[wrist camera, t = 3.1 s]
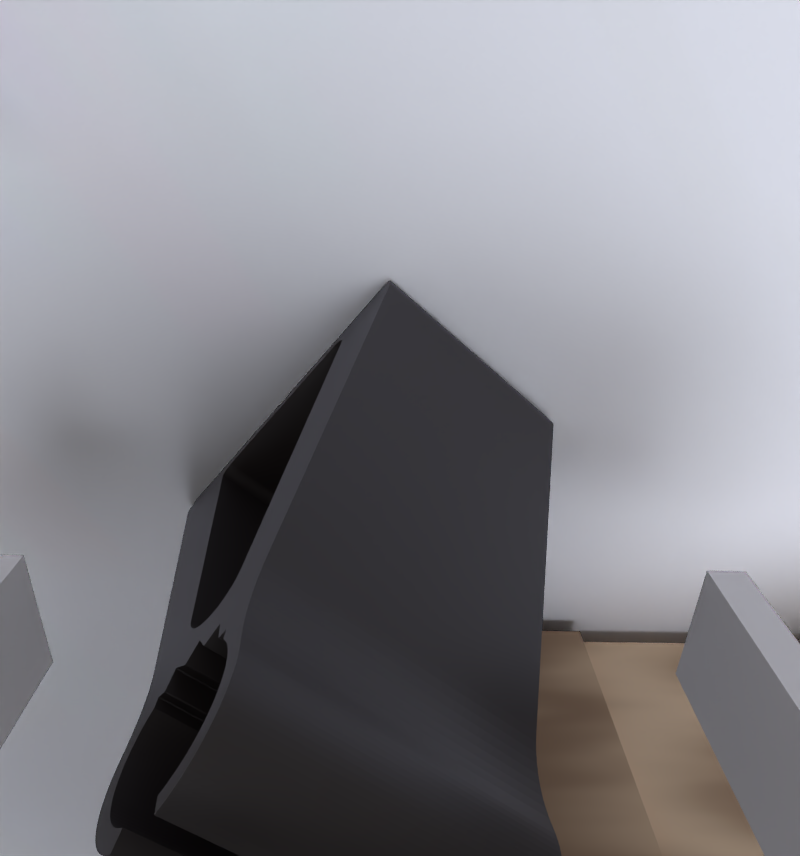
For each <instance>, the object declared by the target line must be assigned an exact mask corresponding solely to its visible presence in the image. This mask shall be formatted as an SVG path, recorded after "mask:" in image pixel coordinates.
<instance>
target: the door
mask: <svg viewBox="0 0 800 856" xmlns="http://www.w3.org/2000/svg"><path fill="white" fill-rule="evenodd" d="M684 644H685V643H632V642H584V641H583V639H582V636H581V633H580V631H542V640H541V658H540V676H539V695H538V713H537V731H536V756H537V768H538V776H539V782H540V787H541V792H542V796H543V800H544V803H545V807H546V810H547V813H548V816H549V819H550V821H551V824H552V826H553V829H554V831H555V833H556V836H557V839H558V842H559V846H560V850H561V855H562V856H764V854H763V851H762V849H761V847H760V845H759V843H758V841H757V839H756V837H755V835H754V833H753V831H752V829H751V827H750V825H749V823H748V821H747V819H746V817H745V815H744V813H743V811H742V809H741V807H740V804H739V802H738V800H737V798H736V796H735V794H734V792H733V790H732V788H731V786H730V784H729V782H728V780H727V778H726V776H725V774H724V772H723V770H722V768H721V766H720V764H719V762H718V759H717V757H716V755H715V753H714V751H713V749H712V747H711V745H710V743H709V741H708V739H707V737H706V735H705V733H704V731H703V729H702V727H701V725H700V723H699V721H698V719H697V717H696V715H695V712H694V710H693V708H692V706H691V704H690V702H689V700H688V698H687V696H686V694H685V692H684V690H683V688H682V686H681V684H680V682H679V680H678V678H677V676H676V670H677V667H678V664H679V661H680V657H681V654H682V651H683V648H684Z"/></svg>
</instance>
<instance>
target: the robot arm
mask: <svg viewBox="0 0 800 856" xmlns="http://www.w3.org/2000/svg"><path fill="white" fill-rule="evenodd" d="M52 663H53V660H52V656H51V653H50V649H49V646H48V642H47V638H46V635H45V631H44V628H43V624H42V620H41V617H40V613H39V609H38V606H37V602H36V599H35V595H34V591H33V588H32V584H31V581H30V577H29V573H28V570H27V566H26V562H25V559H24V555H0V748H1V747H2V745H3V743H4V742H5V740H6V738H7V737H8V735H9V734H10V732H11V730H12V729H13V727H14V725H15V724H16V722H17V720H18V719H19V717H20V715H21V714H22V712H23V710H24V709H25V707H26V705H27V704H28V702H29V701H30V699H31V697H32V696H33V694H34V692H35V691H36V689H37V687H38V686H39V684H40V682H41V681H42V679H43V677H44V676H45V674H46V672H47V671H48V669H49V668H50V666H51V664H52ZM676 676H677V678H678V680H679V682H680V684H681V686H682V688H683V690H684V692H685V694H686V696H687V698H688V700H689V702H690V704H691V706H692V708H693V710H694V712H695V715H696V717H697V719H698V721H699V723H700V725H701V727H702V729H703V731H704V733H705V735H706V737H707V739H708V741H709V743H710V745H711V747H712V749H713V751H714V753H715V755H716V757H717V759H718V762H719V764H720V766H721V768H722V770H723V772H724V774H725V776H726V778H727V780H728V782H729V784H730V786H731V788H732V790H733V792H734V794H735V796H736V798H737V800H738V802H739V804H740V807H741V809H742V811H743V813H744V815H745V817H746V819H747V821H748V823H749V825H750V827H751V829H752V831H753V833H754V835H755V837H756V839H757V841H758V843H759V845H760V847H761V849H762V851H763V854H764V856H800V644H799V642H798V641H797V640H796V638H795V637H794V635H793V634H792V633H791V631H790V630H789V629H788V627H787V626H786V625H785V623H784V622H783V621H782V619H781V618H780V617H779V615H778V614H777V613H776V611H775V610H774V609H773V607H772V606H771V605H770V603H769V602H768V601H767V599H766V598H765V596H764V595H763V594H762V592H761V591H760V590H759V588H758V587H757V586H756V584H755V583H754V582H753V580H752V579H751V578H750V576H749V575H748V574H747V572H739V571H707V573H706V576H705V579H704V583H703V586H702V589H701V592H700V596H699V599H698V602H697V605H696V609H695V612H694V615H693V618H692V622H691V625H690V628H689V631H688V635H687V638H686V641H685V644H684V648H683V651H682V654H681V657H680V661H679V664H678V667H677V670H676Z"/></svg>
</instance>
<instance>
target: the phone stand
mask: <svg viewBox="0 0 800 856" xmlns="http://www.w3.org/2000/svg"><path fill="white" fill-rule="evenodd" d="M552 440H553V423H552V422H551V421H550V420H549V419H548V418H547V417H546V416H544V415H543V414H542V413H541V412H540V411H539V410H538V409H536V408H535V407H534V406H533V405H532V404H531V403H530V402H528V401H527V400H526V399H525V398H524V397H523V396H522V395H520V394H519V393H518V392H517V391H516V390H515V389H514V388H512V387H511V386H510V385H509V384H508V383H507V382H505V381H504V380H503V379H502V378H501V377H500V376H499V375H497V374H496V373H495V372H494V371H493V370H492V369H491V368H489V367H488V366H487V365H486V364H485V363H484V362H483V361H481V360H480V359H479V358H478V357H477V356H476V355H475V354H473V353H472V352H471V351H470V350H469V349H468V348H466V347H465V346H464V345H463V344H462V343H461V342H460V341H458V340H457V339H456V338H455V337H454V336H453V335H452V334H450V333H449V332H448V331H447V330H446V329H445V328H444V327H442V326H441V325H440V324H439V323H438V322H437V321H436V320H434V319H433V318H432V317H431V316H430V315H429V314H428V313H426V312H425V311H424V310H423V309H422V308H421V307H419V306H418V305H417V304H416V303H415V302H414V301H413V300H411V299H410V298H409V297H408V296H407V295H406V294H405V293H403V292H402V291H401V290H400V289H399V288H398V287H397V286H395V285H394V284H393V283H392V282H391V281H389V282H388V283H387V284H385V285H384V286H383V288H382V289H381V290H380V291H379V292H378V293H377V294H376V296H375V297H374V298H373V299H372V300H371V301H370V302H369V303H368V305H367V306H366V307H365V308H364V309H363V310H362V311H361V313H360V314H359V315H358V316H357V317H356V318H355V319H354V321H353V322H352V323H351V324H350V325H349V326H348V327H347V329H346V330H345V331H344V332H343V333H342V334H341V335H340V337H339V338H338V339H337V340H336V341H335V342H334V343H333V345H332V346H331V347H330V348H329V349H328V350H327V351H326V353H325V354H324V355H323V356H322V357H321V358H320V359H319V361H318V362H317V363H316V364H315V365H314V366H313V367H312V368H311V370H310V371H309V372H308V373H307V374H306V375H305V376H304V378H303V379H302V380H301V381H300V382H299V383H298V384H297V386H296V387H295V388H294V389H293V390H292V391H291V392H290V394H289V395H288V396H287V398H286V399H285V401H284V402H283V403H282V404H281V405H279V406H278V407H277V408H276V410H275V411H274V412H273V413H272V414H271V415H270V416H269V418H268V419H267V420H266V421H265V422H264V423H263V424H262V425H261V427H260V428H259V429H258V430H257V431H256V432H255V433H254V435H253V436H252V437H251V438H250V439H249V440H248V441H247V443H246V444H245V445H244V446H243V447H242V448H241V449H240V451H239V452H238V453H237V454H236V455H235V456H234V457H233V459H232V460H231V461H230V462H229V463H228V464H227V465H226V467H225V468H224V469H223V470H222V471H221V472H220V473H219V475H218V476H217V477H216V478H215V479H214V480H213V481H212V482H211V484H210V485H209V486H208V487H207V488H206V489H205V490H204V492H203V493H202V494H201V495H200V496H199V497H198V499H197V500H196V501H195V502H194V504H193V505H192V507H191V508H190V510H189V512H188V516H187V521H186V525H185V530H184V535H183V540H182V544H181V549H180V554H179V558H178V563H177V568H176V572H175V577H174V582H173V587H172V591H171V596H170V601H169V605H168V610H167V615H166V619H165V624H164V629H163V634H162V638H161V643H160V648H159V652H158V657H157V662H156V667H155V671H154V675H153V679H152V683H151V687H150V690H149V693H148V696H147V699H146V702H145V704H144V707H143V710H142V712H141V715H140V717H139V720H138V722H137V725H136V727H135V729H134V732H133V734H132V736H131V739H130V741H129V743H128V745H127V748H126V750H125V752H124V754H123V756H122V758H121V760H120V763H119V765H118V767H117V769H116V771H115V774H114V776H113V778H112V781H111V783H110V786H109V788H108V791H107V793H106V796H105V799H104V802H103V805H102V808H101V812H100V815H99V819H98V824H97V829H96V848H97V851H98V852H99V853H100V854H101V855H103V856H562V855H561V850H560V846H559V842H558V839H557V836H556V833H555V831H554V829H553V826H552V824H551V821H550V819H549V816H548V813H547V810H546V807H545V803H544V800H543V796H542V792H541V787H540V782H539V776H538V768H537V756H536V731H537V713H538V695H539V676H540V658H541V640H542V622H543V604H544V585H545V567H546V549H547V531H548V512H549V494H550V476H551V458H552Z"/></svg>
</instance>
